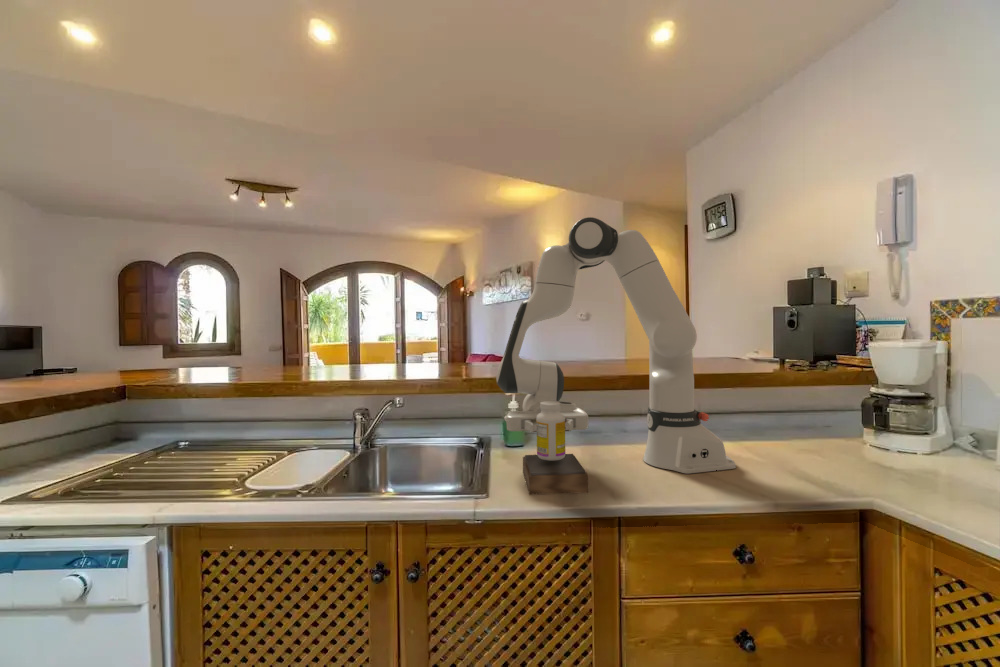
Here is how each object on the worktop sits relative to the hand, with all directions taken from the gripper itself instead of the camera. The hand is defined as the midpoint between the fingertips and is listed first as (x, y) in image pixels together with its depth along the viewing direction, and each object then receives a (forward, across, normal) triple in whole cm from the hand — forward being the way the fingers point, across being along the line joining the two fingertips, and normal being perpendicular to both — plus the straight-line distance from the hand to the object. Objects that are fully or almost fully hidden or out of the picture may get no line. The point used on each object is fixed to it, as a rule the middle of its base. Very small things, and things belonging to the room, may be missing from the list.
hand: (551, 428), depth 105 cm
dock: (-1, 0, +13) cm, 13 cm away
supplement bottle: (-1, 0, +7) cm, 7 cm away
